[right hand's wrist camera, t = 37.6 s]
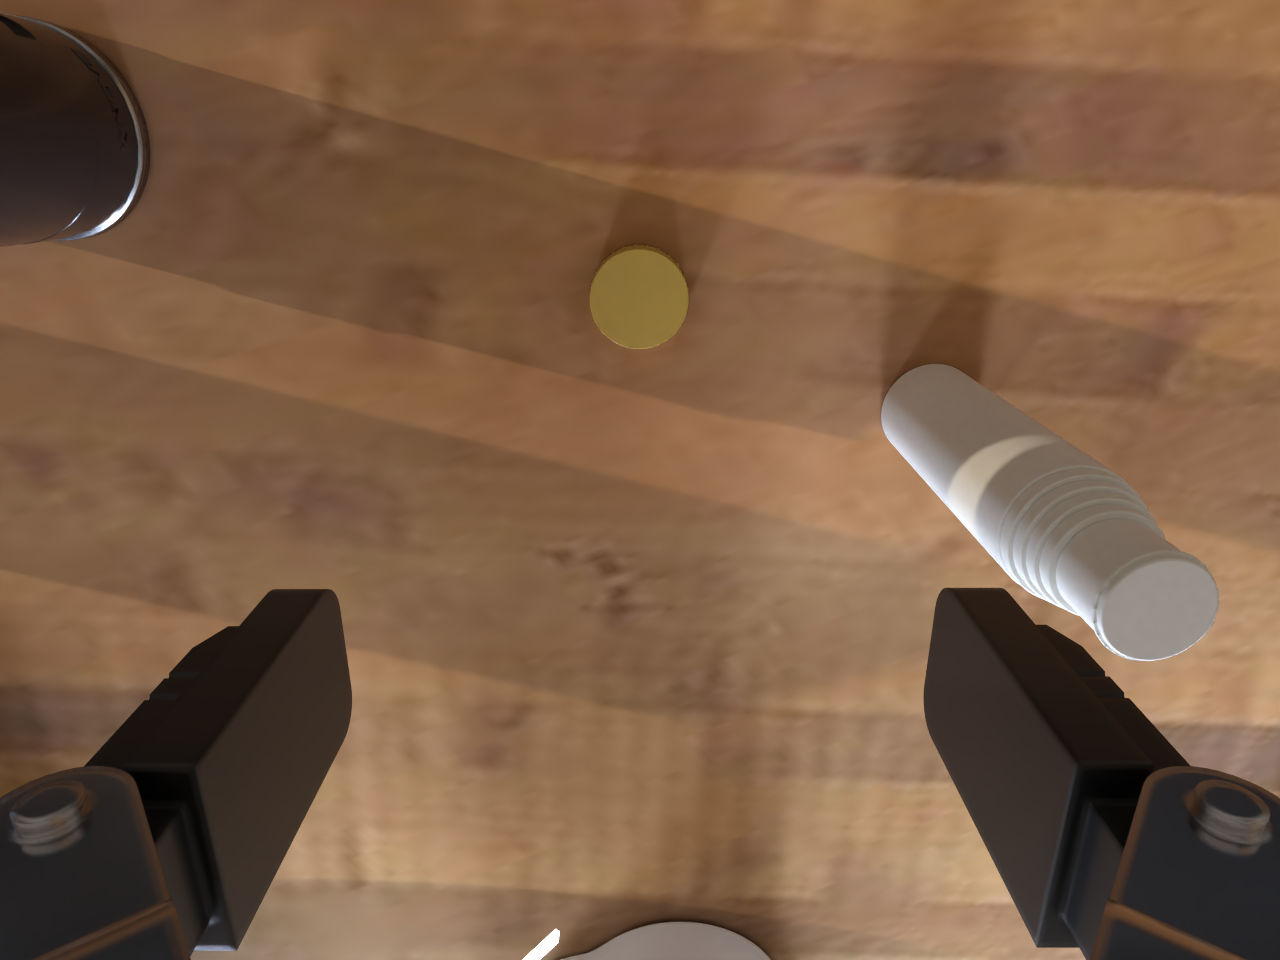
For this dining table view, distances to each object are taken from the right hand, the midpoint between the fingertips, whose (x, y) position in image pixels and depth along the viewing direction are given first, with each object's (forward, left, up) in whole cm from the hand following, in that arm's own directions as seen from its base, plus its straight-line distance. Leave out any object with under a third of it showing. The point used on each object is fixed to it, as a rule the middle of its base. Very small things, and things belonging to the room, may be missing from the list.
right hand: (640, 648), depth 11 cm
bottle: (+12, -10, -32) cm, 36 cm away
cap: (0, 0, -31) cm, 31 cm away
